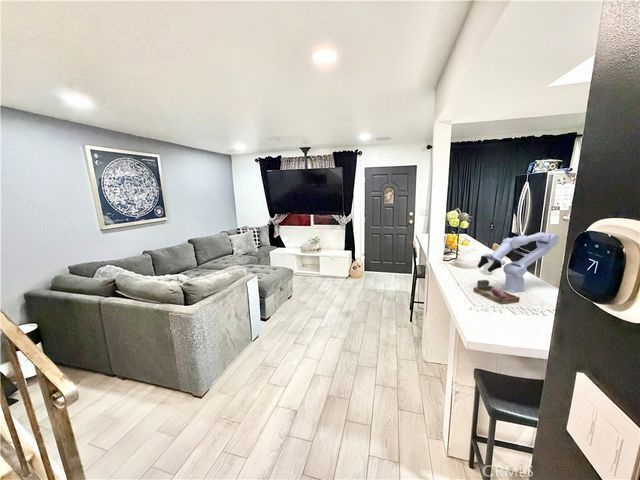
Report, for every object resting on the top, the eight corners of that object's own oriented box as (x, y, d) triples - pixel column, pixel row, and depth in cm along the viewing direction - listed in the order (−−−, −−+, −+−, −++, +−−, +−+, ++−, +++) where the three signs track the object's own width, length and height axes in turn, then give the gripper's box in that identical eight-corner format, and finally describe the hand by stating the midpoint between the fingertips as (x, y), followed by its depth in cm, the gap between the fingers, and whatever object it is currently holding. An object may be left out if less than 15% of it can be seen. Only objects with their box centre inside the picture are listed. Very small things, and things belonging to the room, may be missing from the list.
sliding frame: (472, 291, 159) (473, 281, 158) (488, 289, 161) (489, 279, 160) (501, 304, 140) (502, 292, 139) (519, 301, 142) (520, 290, 141)
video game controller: (491, 297, 153) (487, 287, 152) (497, 293, 153) (493, 284, 152) (504, 304, 143) (500, 294, 142) (511, 300, 143) (507, 290, 142)
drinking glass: (491, 272, 194) (493, 253, 191) (494, 275, 187) (496, 255, 185) (481, 272, 196) (483, 253, 193) (483, 274, 190) (485, 255, 187)
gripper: (486, 246, 160) (471, 261, 161) (507, 252, 146) (490, 268, 147) (492, 253, 162) (476, 268, 163) (513, 260, 149) (495, 276, 149)
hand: (483, 268), depth 155 cm, fingers open, 7 cm apart
